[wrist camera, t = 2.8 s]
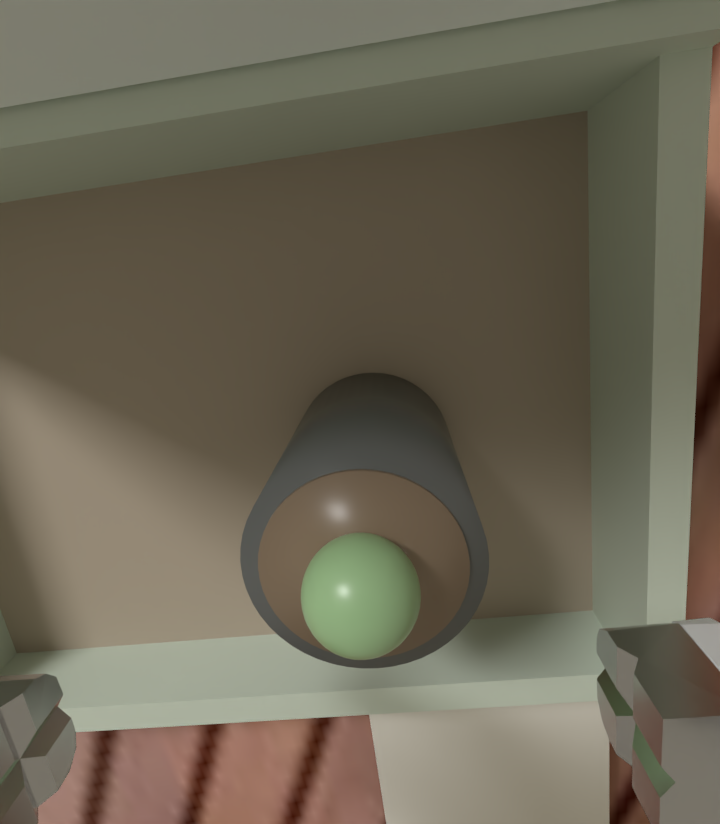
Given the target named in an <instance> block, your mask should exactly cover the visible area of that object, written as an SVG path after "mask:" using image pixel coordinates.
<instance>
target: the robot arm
mask: <svg viewBox="0 0 720 824" xmlns="http://www.w3.org/2000/svg"><path fill="white" fill-rule="evenodd" d="M596 653H597V655H598V656H599V658H600V660H601V662H602V664H603V665H604V667H605V669H604V670H603V671H602V673H601V674H600V675H599V676H598V678H597V699H598V704H599V708H600V713H601V718H602V722H603V724H604V727H605V730H606V733H607V735H608V738H609V740H610V742H611V744H612V746H613V749H614V751H615V753H616V755H618V756H619V757H620V758H622V759H623V760H624V761H626V762H627V763H628V764H630V765H631V766H632V788H633V790H634V792H635V794H636V796H637V798H638V800H639V802H640V804H641V806H642V808H643V810H644V812H645V814H646V816H647V818H648V820H649V822H650V824H720V623H719V622H718V621H716V620H714V619H712V618H701V619H691V620H682V621H673V622H672V623H660V624H648V625H637V626H626V627H614V628H603V629H599V631H598V635H597V648H596ZM62 696H63V692H62V690H61V687H60V685H59V682H58V680H57V677H56V676H52V675H49V674H46V673H45V674H27V675H9V676H0V824H38V807H39V806H40V805H41V804H42V803H43V802H45V801H46V800H47V799H48V798H49V797H51V796H52V795H53V794H54V793H56V792H57V791H58V790H59V788H60V786H61V785H62V783H63V781H64V779H65V778H66V776H67V774H68V773H69V771H70V768H71V764H72V761H73V757H74V754H75V750H76V731H75V728H74V725H73V721H72V718H71V717H70V716H68V715H67V714H66V713H65V712H64V711H62V710H61V709H60V708H59V707H58V705H59V703H60V701H61V698H62Z"/></svg>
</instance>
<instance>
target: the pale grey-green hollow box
mask: <svg viewBox="0 0 720 824" xmlns="http://www.w3.org/2000/svg"><path fill="white" fill-rule="evenodd" d="M719 42H720V0H0V676H9V675H27V674H45V673H46V674H49V675H52V676H56V677H57V680H58V682H59V685H60V687H61V690H62V692H63V696H62V698H61V701H60V703H59V705H58V707H59V708H60V709H61V710H62V711H64V712H65V713H66V714H67V715H68V716H70V717H71V718H72V721H73V725H74V728H75V731H76V732H87V731H104V730H121V729H138V728H154V727H171V726H188V725H204V724H221V723H238V722H255V721H271V720H288V719H305V718H322V717H338V716H355V715H372V714H388V713H405V712H422V711H439V710H455V709H472V708H489V707H505V706H522V705H539V704H556V703H572V702H589V701H598V699H597V678H598V676H599V675H600V674H601V673H602V671H603V670H604V669H605V667H604V665H603V664H602V662H601V660H600V658H599V656H598V655H597V653H596V648H597V635H598V631H599V629H603V628H614V627H626V626H637V625H648V624H660V623H672V622H673V621H682V620H685V618H686V597H687V576H688V555H689V534H690V512H691V491H692V470H693V449H694V428H695V406H696V385H697V364H698V343H699V322H700V300H701V279H702V258H703V237H704V216H705V194H706V173H707V152H708V131H709V110H710V89H711V67H712V47H713V46H714V45H716V44H717V43H719ZM362 373H384V374H389V375H394V376H397V377H400V378H403V379H405V380H407V381H409V382H411V383H413V384H415V385H416V386H418V387H419V388H420V389H422V390H423V391H424V392H425V393H426V394H427V395H429V396H430V398H431V399H432V400H433V401H434V402H435V403H436V405H437V407H438V408H439V410H440V411H441V413H442V415H443V417H444V420H445V422H446V425H447V428H448V431H449V433H450V436H451V439H452V442H453V445H454V447H455V450H456V453H457V456H458V459H459V462H460V464H461V467H462V470H463V473H464V476H465V478H466V481H467V484H468V487H469V490H470V492H471V495H472V498H473V501H474V504H475V507H476V509H477V512H478V515H479V518H480V521H481V523H482V526H483V529H484V533H485V536H486V539H487V544H488V551H489V574H488V580H487V585H486V589H485V592H484V595H483V598H482V600H481V602H480V604H479V606H478V608H477V611H476V612H475V614H474V615H473V617H472V618H471V620H470V621H469V623H468V624H467V625H466V626H465V627H464V628H463V629H462V630H461V632H460V633H459V634H458V635H456V636H455V637H454V638H453V639H452V640H451V641H450V642H448V643H447V644H446V645H444V646H443V647H441V648H440V649H438V650H436V651H435V652H433V653H431V654H429V655H427V656H425V657H423V658H420V659H418V660H415V661H412V662H409V663H406V664H402V665H397V666H393V667H385V668H352V667H345V666H340V665H335V664H331V663H328V662H325V661H322V660H319V659H316V658H314V657H312V656H310V655H307V654H305V653H303V652H302V651H300V650H298V649H296V648H295V647H293V646H291V645H290V644H289V643H287V642H286V641H285V640H283V639H282V638H281V637H280V636H278V635H277V634H276V633H275V632H274V631H273V630H272V629H271V628H270V627H269V626H268V625H267V623H266V622H265V621H264V620H263V618H262V617H261V616H260V615H259V613H258V611H257V610H256V608H255V607H254V605H253V603H252V601H251V599H250V597H249V595H248V592H247V590H246V587H245V584H244V580H243V577H242V570H241V563H240V547H241V541H242V534H243V531H244V527H245V524H246V521H247V519H248V517H249V514H250V512H251V510H252V508H253V506H254V504H255V503H256V501H257V499H258V497H259V495H260V494H261V492H262V490H263V488H264V486H265V485H266V483H267V481H268V479H269V477H270V476H271V474H272V472H273V470H274V468H275V467H276V465H277V463H278V461H279V459H280V458H281V456H282V454H283V452H284V451H285V449H286V447H287V445H288V443H289V442H290V440H291V438H292V436H293V434H294V433H295V431H296V429H297V427H298V425H299V424H300V422H301V420H302V418H303V416H304V415H305V413H306V411H307V409H308V408H309V406H310V405H311V403H312V402H313V401H314V399H315V398H316V397H317V396H318V395H319V394H320V393H321V392H322V391H324V390H325V389H326V388H327V387H329V386H330V385H332V384H333V383H335V382H337V381H339V380H341V379H343V378H346V377H349V376H352V375H357V374H362Z"/></svg>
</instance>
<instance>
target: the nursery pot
mask: <svg viewBox="0 0 720 824" xmlns="http://www.w3.org/2000/svg"><path fill="white" fill-rule="evenodd" d="M240 563H241V570H242V577H243V580H244V584H245V587H246V590H247V592H248V595H249V597H250V599H251V601H252V603H253V605H254V607H255V608H256V610H257V611H258V613H259V615H260V616H261V617H262V618H263V620H264V621H265V622H266V623H267V625H268V626H269V627H270V628H271V629H272V630H273V631H274V632H275V633H276V634H277V635H278V636H280V637H281V638H282V639H283V640H285V641H286V642H287V643H289V644H290V645H291V646H293V647H295V648H296V649H298V650H300V651H302V652H303V653H305V654H307V655H310V656H312V657H314V658H316V659H319V660H322V661H325V662H328V663H331V664H335V665H340V666H345V667H352V668H385V667H393V666H397V665H402V664H406V663H409V662H412V661H415V660H418V659H420V658H423V657H425V656H427V655H429V654H431V653H433V652H435V651H436V650H438V649H440V648H441V647H443V646H444V645H446V644H447V643H448V642H450V641H451V640H452V639H453V638H454V637H455V636H456V635H458V634H459V633H460V632H461V630H462V629H463V628H464V627H465V626H466V625H467V624H468V623H469V621H470V620H471V618H472V617H473V615H474V614H475V612H476V611H477V608H478V606H479V604H480V602H481V600H482V598H483V595H484V592H485V589H486V585H487V580H488V574H489V551H488V544H487V539H486V536H485V533H484V529H483V526H482V523H481V521H480V518H479V515H478V512H477V509H476V507H475V504H474V501H473V498H472V495H471V492H470V490H469V487H468V484H467V481H466V478H465V476H464V473H463V470H462V467H461V464H460V462H459V459H458V456H457V453H456V450H455V447H454V445H453V442H452V439H451V436H450V433H449V431H448V428H447V425H446V422H445V420H444V417H443V415H442V413H441V411H440V410H439V408H438V407H437V405H436V403H435V402H434V401H433V400H432V399H431V398H430V396H429V395H427V394H426V393H425V392H424V391H423V390H422V389H420V388H419V387H418V386H416V385H415V384H413V383H411V382H409V381H407V380H405V379H403V378H400V377H397V376H394V375H389V374H384V373H362V374H357V375H352V376H349V377H346V378H343V379H341V380H339V381H337V382H335V383H333V384H332V385H330V386H329V387H327V388H326V389H325V390H324V391H322V392H321V393H320V394H319V395H318V396H317V397H316V398H315V399H314V401H313V402H312V403H311V405H310V406H309V408H308V409H307V411H306V413H305V415H304V416H303V418H302V420H301V422H300V424H299V425H298V427H297V429H296V431H295V433H294V434H293V436H292V438H291V440H290V442H289V443H288V445H287V447H286V449H285V451H284V452H283V454H282V456H281V458H280V459H279V461H278V463H277V465H276V467H275V468H274V470H273V472H272V474H271V476H270V477H269V479H268V481H267V483H266V485H265V486H264V488H263V490H262V492H261V494H260V495H259V497H258V499H257V501H256V503H255V504H254V506H253V508H252V510H251V512H250V514H249V517H248V519H247V521H246V524H245V527H244V531H243V534H242V541H241V547H240Z"/></svg>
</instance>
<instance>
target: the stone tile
mask: <svg viewBox="0 0 720 824" xmlns="http://www.w3.org/2000/svg"><path fill="white" fill-rule="evenodd" d="M369 717H370V723H371V730H372V736H373V742H374V749H375V755H376V761H377V768H378V774H379V780H380V787H381V793H382V799H383V806H384V812H385V818H386V824H609V738H608V735H607V733H606V730H605V727H604V724H603V722H602V718H601V713H600V708H599V704H598V701H589V702H572V703H556V704H539V705H522V706H505V707H489V708H472V709H455V710H439V711H422V712H405V713H388V714H372V715H369Z"/></svg>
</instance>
